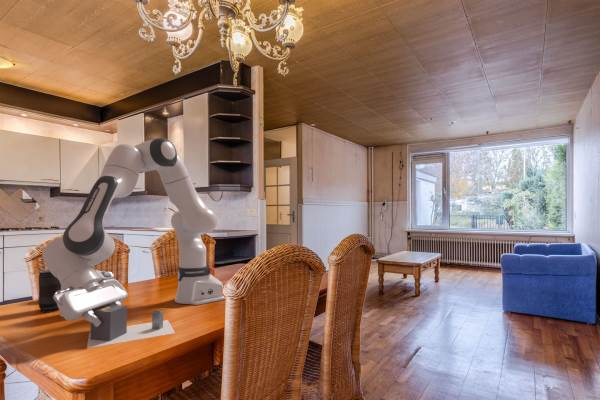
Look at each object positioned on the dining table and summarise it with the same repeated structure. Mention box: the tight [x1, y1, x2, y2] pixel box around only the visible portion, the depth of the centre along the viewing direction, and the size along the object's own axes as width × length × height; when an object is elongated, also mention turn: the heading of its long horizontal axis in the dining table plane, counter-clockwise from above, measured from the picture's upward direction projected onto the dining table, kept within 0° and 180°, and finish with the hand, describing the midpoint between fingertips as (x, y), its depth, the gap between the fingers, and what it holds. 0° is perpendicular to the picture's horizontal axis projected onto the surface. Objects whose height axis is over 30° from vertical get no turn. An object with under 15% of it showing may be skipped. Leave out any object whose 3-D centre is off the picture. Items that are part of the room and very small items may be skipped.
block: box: [90, 304, 128, 341], centre depth 95 cm, size 6×6×8 cm
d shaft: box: [151, 309, 164, 330], centre depth 102 cm, size 3×3×5 cm
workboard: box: [86, 319, 176, 349], centre depth 98 cm, size 22×14×2 cm, turn 120°
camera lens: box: [38, 269, 61, 313], centre depth 126 cm, size 8×8×15 cm
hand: (111, 320), depth 95 cm, fingers closed on block, 6 cm apart
